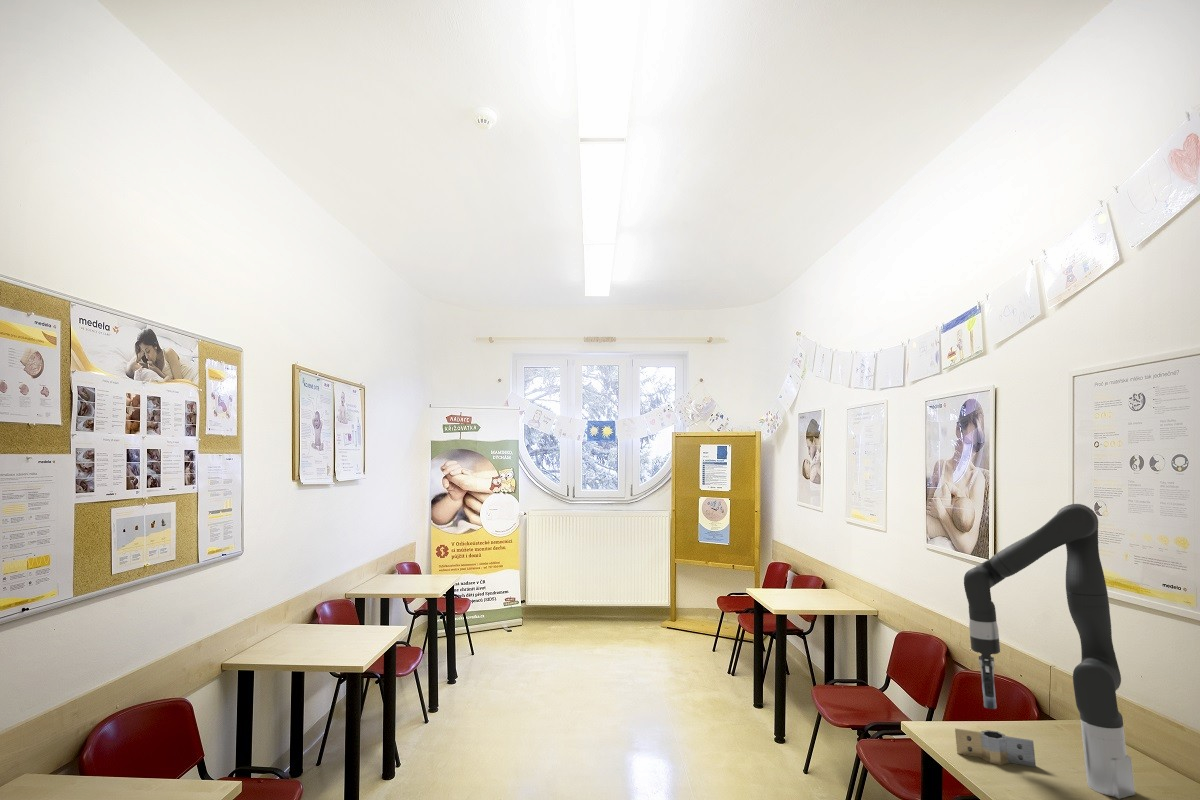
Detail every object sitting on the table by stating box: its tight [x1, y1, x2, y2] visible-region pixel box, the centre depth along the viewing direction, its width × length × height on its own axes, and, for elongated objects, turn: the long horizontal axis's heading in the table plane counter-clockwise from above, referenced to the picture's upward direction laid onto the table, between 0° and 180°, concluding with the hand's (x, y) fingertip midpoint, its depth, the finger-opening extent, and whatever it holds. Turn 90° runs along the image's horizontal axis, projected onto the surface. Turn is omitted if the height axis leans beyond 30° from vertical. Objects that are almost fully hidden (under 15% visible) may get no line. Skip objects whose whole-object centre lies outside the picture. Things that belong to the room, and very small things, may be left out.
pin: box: [980, 664, 997, 710], centre depth 190 cm, size 3×3×12 cm
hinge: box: [954, 727, 1037, 768], centre depth 188 cm, size 20×6×7 cm, turn 60°
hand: (989, 694), depth 190 cm, fingers closed on pin, 3 cm apart
